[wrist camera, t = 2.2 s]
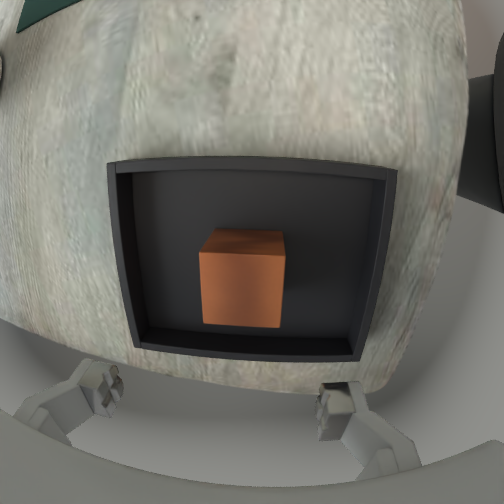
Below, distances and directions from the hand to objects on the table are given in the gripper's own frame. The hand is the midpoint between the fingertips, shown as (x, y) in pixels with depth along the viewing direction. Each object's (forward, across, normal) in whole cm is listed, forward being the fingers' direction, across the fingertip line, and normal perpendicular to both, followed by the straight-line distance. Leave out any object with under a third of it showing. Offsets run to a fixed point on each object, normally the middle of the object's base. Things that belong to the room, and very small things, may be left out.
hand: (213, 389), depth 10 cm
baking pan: (+13, 0, 0) cm, 13 cm away
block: (+13, 0, 0) cm, 13 cm away
